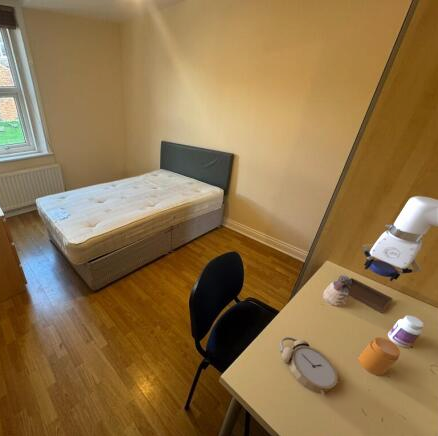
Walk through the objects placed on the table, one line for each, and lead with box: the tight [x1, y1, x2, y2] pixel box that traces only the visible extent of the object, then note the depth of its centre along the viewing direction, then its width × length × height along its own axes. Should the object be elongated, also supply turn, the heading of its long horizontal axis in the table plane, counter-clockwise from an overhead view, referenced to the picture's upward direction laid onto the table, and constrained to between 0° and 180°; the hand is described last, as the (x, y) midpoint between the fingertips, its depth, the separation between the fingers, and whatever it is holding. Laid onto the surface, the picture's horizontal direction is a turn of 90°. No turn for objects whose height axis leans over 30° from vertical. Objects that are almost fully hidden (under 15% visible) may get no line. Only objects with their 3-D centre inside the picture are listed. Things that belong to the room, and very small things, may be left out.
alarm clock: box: [280, 336, 341, 397], centre depth 68 cm, size 11×5×15 cm
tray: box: [348, 277, 394, 314], centre depth 90 cm, size 13×9×2 cm
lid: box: [368, 259, 397, 278], centre depth 84 cm, size 7×7×2 cm
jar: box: [357, 337, 401, 377], centre depth 66 cm, size 6×6×10 cm
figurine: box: [322, 275, 353, 308], centre depth 87 cm, size 7×7×12 cm
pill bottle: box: [387, 315, 425, 348], centre depth 73 cm, size 5×5×10 cm
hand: (379, 273), depth 85 cm, fingers closed on lid, 6 cm apart
